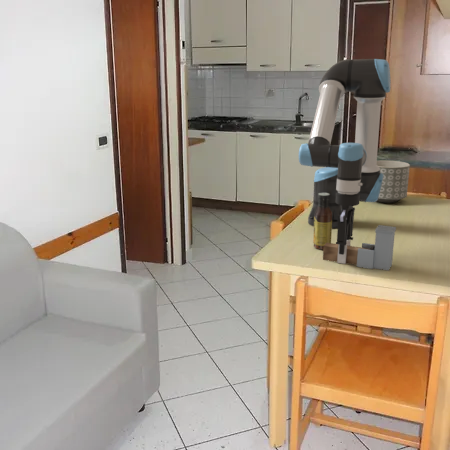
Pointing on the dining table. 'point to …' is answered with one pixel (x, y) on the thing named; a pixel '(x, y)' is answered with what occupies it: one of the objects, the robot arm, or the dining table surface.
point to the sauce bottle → (322, 222)
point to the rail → (351, 257)
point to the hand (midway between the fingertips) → (343, 260)
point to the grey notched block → (378, 250)
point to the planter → (393, 180)
